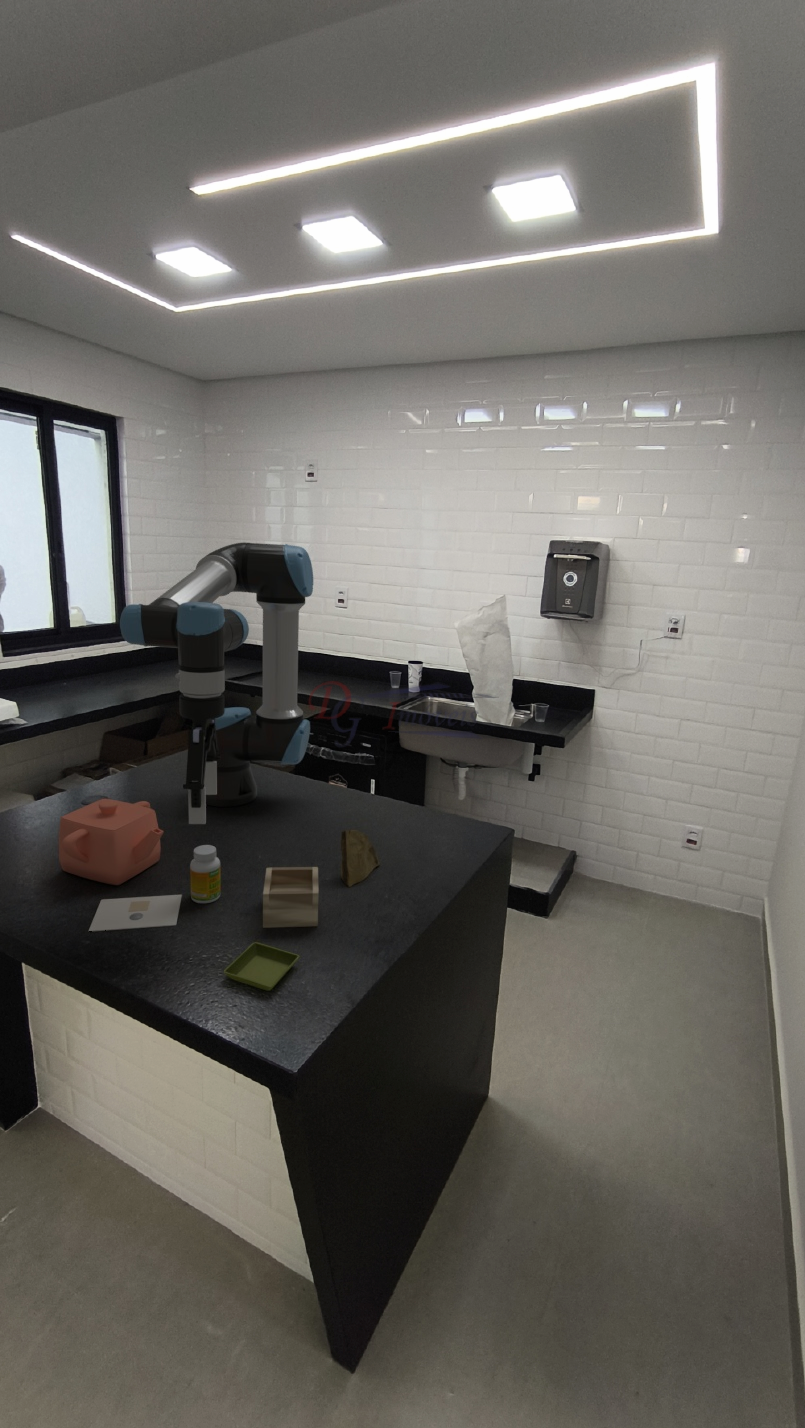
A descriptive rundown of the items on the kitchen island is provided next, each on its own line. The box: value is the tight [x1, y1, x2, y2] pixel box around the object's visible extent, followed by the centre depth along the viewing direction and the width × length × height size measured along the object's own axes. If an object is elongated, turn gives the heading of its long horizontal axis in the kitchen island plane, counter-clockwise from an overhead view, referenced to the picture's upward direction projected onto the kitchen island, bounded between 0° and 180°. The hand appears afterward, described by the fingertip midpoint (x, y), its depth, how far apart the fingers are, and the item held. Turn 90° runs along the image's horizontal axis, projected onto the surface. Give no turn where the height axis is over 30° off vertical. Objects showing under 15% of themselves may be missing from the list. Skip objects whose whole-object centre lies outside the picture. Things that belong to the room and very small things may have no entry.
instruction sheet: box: [88, 894, 183, 932], centre depth 115 cm, size 10×14×1 cm
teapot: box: [58, 798, 165, 886], centre depth 127 cm, size 20×22×14 cm
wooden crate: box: [262, 866, 320, 929], centre depth 117 cm, size 10×10×6 cm
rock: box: [340, 829, 380, 888], centre depth 132 cm, size 11×9×10 cm
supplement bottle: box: [189, 844, 222, 904], centre depth 120 cm, size 5×5×10 cm
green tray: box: [223, 941, 300, 992], centre depth 101 cm, size 9×9×2 cm
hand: (203, 808), depth 116 cm, fingers open, 13 cm apart
